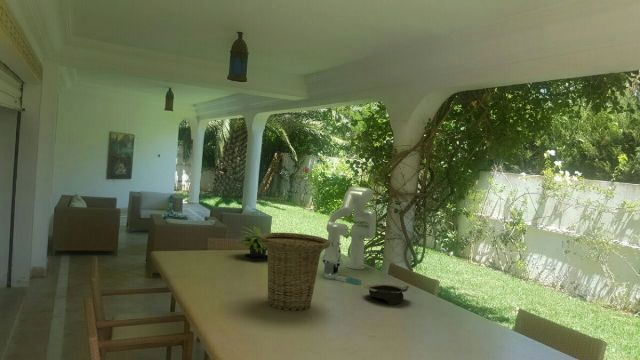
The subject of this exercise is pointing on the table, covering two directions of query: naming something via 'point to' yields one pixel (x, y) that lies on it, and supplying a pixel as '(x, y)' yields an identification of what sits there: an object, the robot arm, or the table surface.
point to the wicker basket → (292, 268)
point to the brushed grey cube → (329, 268)
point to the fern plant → (254, 247)
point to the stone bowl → (387, 292)
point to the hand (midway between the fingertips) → (330, 271)
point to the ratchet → (342, 278)
